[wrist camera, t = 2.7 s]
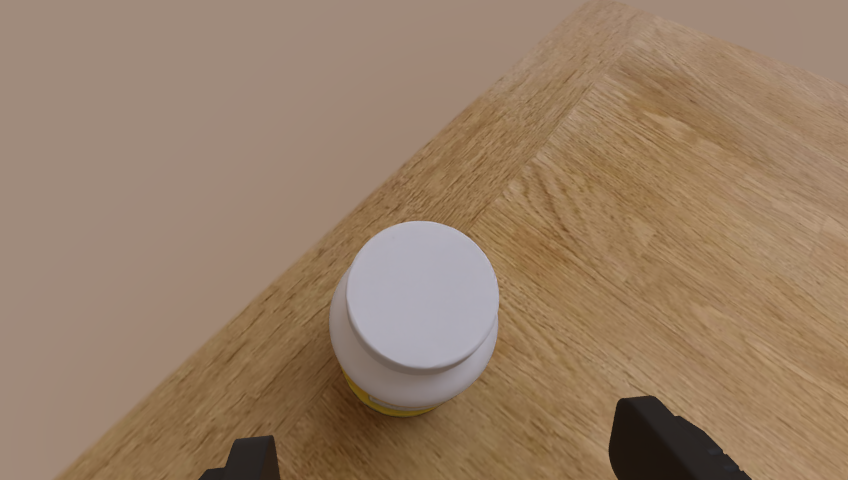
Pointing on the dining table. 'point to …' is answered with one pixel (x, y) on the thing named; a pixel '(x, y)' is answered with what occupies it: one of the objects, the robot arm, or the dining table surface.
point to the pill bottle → (414, 318)
